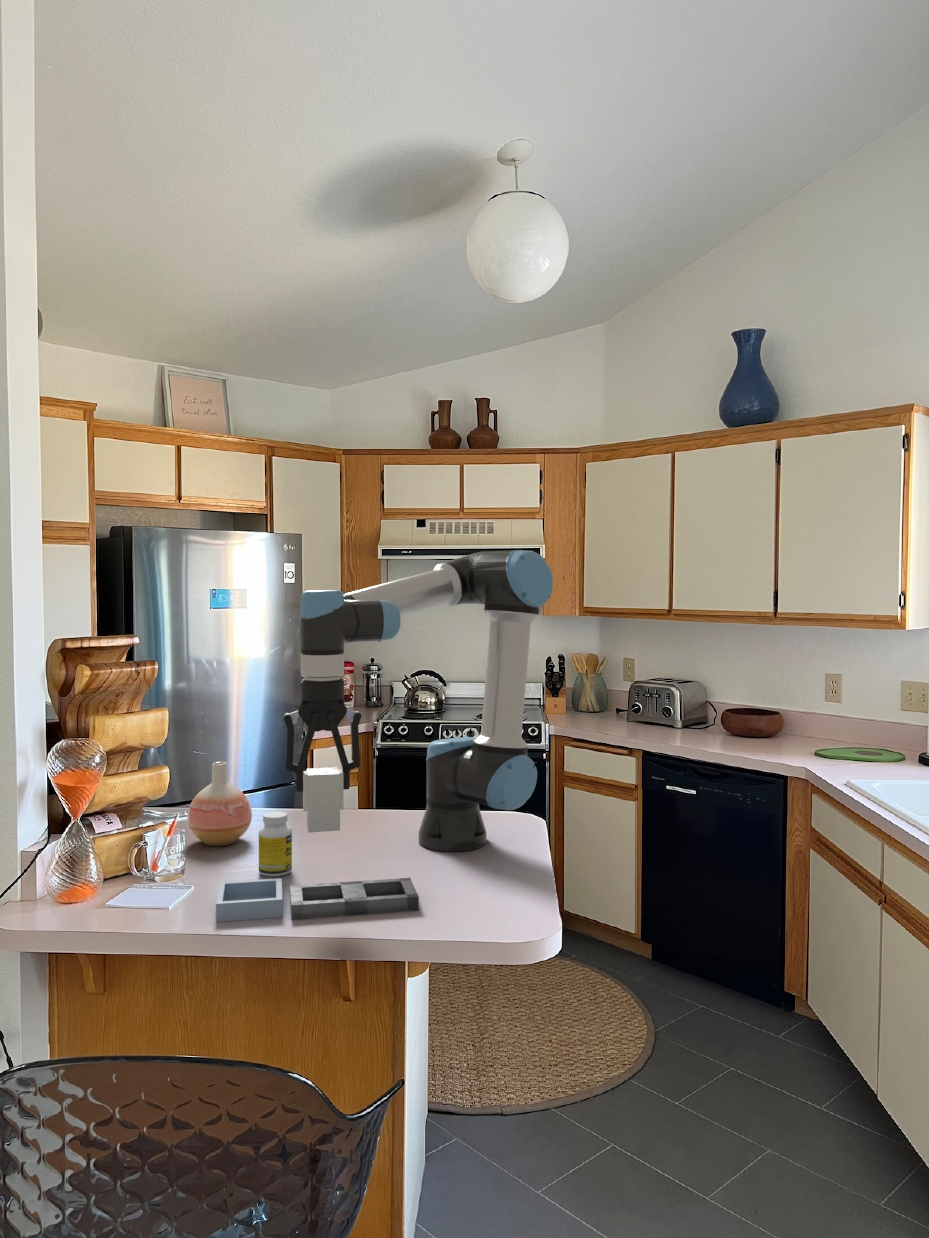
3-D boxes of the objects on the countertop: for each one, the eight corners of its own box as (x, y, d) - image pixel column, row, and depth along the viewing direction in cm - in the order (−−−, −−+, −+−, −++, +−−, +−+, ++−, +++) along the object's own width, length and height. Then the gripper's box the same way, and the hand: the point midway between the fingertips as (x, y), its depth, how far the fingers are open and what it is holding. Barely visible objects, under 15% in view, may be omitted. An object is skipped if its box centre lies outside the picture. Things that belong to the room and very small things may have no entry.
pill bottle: (284, 879, 172) (284, 819, 171) (253, 876, 173) (252, 817, 173) (297, 868, 178) (297, 811, 178) (267, 866, 180) (266, 809, 179)
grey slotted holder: (410, 890, 166) (410, 877, 166) (418, 910, 156) (418, 896, 156) (290, 899, 161) (290, 885, 161) (291, 919, 151) (291, 905, 151)
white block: (337, 821, 160) (337, 767, 160) (340, 830, 155) (339, 773, 154) (306, 823, 159) (306, 768, 158) (308, 832, 154) (307, 775, 153)
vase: (218, 855, 186) (217, 772, 185) (174, 844, 193) (173, 764, 193) (264, 839, 198) (264, 761, 197) (221, 830, 205) (221, 754, 204)
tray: (281, 894, 163) (281, 878, 163) (282, 917, 152) (282, 899, 152) (219, 898, 161) (219, 882, 161) (216, 921, 150) (215, 903, 150)
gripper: (372, 674, 161) (373, 800, 162) (268, 676, 157) (269, 805, 158) (377, 679, 154) (377, 811, 155) (268, 681, 150) (269, 816, 151)
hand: (323, 808), depth 157 cm, fingers closed on white block, 5 cm apart
